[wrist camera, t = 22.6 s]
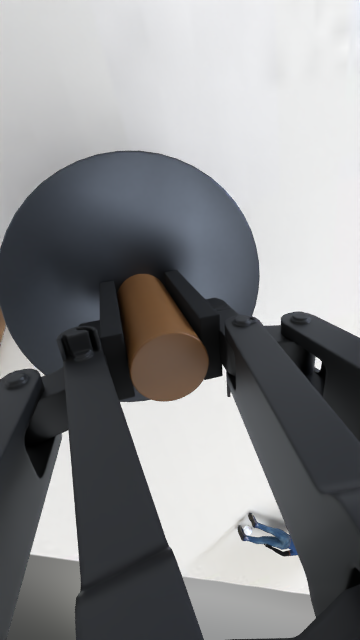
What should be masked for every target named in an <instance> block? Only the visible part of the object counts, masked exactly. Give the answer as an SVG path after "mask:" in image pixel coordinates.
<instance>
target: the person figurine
mask: <svg viewBox="0 0 360 640" xmlns="http://www.w3.org/2000/svg"><path fill="white" fill-rule="evenodd" d="M248 517H249V520H250V521H251V522H252V526H253V527H254V528H259V529H261V530H263V531H265V532H267V533H271V534H273V535H274V536H275V537H272V536H262V537H251V536H249V535H251V533H252V529H251V527H250V526H245V527H244V530H243V529H242V527H241V526H239V527H238V533H239V535H240V537H241V539H242V541H250V542H253V543H256V544H264V545H265V544H266V547H268V548H270V549H272V550H273V551H275V552H276V553H278V554H280V555H282V556H293V555H298V553H297V551H296V549H295V546H294V544H293V541H292V539H291V536H290V535H289V534H287V533H285V532H284V531H283V530H281V529H278V528H272V527H267V526H265V525H263V524H260V523H258V522H257V521H256V519H255V517H254V516H253V514H252V513H249V515H248ZM272 546H273V547H277V548H280V549H287V548H289V549H291V550H289V551H285V552H282V551H280V550H278V549H276V548H273V547H272Z"/></svg>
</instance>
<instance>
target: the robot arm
mask: <svg viewBox="0 0 360 640" xmlns="http://www.w3.org/2000/svg"><path fill="white" fill-rule="evenodd" d="M164 276H165V283H166V290H167V291H168V293H169V294H170V296H171V297H172V299H173V300H174V302H175V303H176V305H177V306H178V308H179V309H180V310H181V312H182V313H183V315H184V316H185V318H186V319H187V321H188V322H189V324H190V325H191V327H192V328H193V330H194V331H195V333H196V334H197V336H198V337H199V339H200V340H201V342H202V343H203V345H204V346H205V348H206V350H207V353H208V358H209V365H208V370H207V373H206V376H205V378H204V380H207V379H211V378H215V377H219V376H222V364H223V366H224V367H225V369H226V374H227V396H228V397H230V392H232V395H233V397H234V400H235V402H236V405H237V407H238V410H239V412H240V414H241V417H242V419H243V422H244V424H245V427H246V429H247V432H248V434H249V436H250V439H251V441H252V444H253V446H254V449H255V451H256V453H257V456H258V458H259V461H260V463H261V466H262V468H263V471H264V473H265V475H266V478H267V480H268V483H269V485H270V488H271V490H272V492H273V495H274V497H275V500H276V502H277V505H278V507H279V510H280V512H281V514H282V517H283V519H284V522H285V524H286V527H287V529H288V531H289V534H290V536H291V539H292V541H293V544H294V546H295V549H296V551H297V553H298V556H299V558H300V561H301V563H302V566H303V568H304V571H305V574H306V577H307V581H308V586H309V591H310V596H311V601H312V605H313V609H314V612H315V616H316V619H315V620H314V621H313V622H312V623H311V624H310V625H309V626H308V627H307V628H306V629H305V630H304V631H303V632H302V633H301V634H300V635H298V636H296V637H294V638H280V639H279V638H278V639H235V640H360V338H359V337H357V336H355V335H353V334H351V333H349V332H347V331H345V330H343V329H341V328H339V327H337V326H335V325H333V324H330V323H328V322H326V321H324V320H322V319H320V318H318V317H316V316H314V315H311V314H309V313H304V312H293V313H288V314H285V315H283V316H282V317H281V325H277V326H263V324H262V323H261V322H260V321H259V320H258V319H257V318H255V317H252V316H247V315H239V314H238V313H237V312H236V311H235V310H234V309H232V308H231V307H230V306H229V305H228V304H227V303H226V302H225V301H224V300H221V299H218V298H216V297H215V298H210V299H205V298H204V297H203V296H202V295H201V294H200V293H199V292H198V291H197V290H196V289H195V288H194V287H193V286H192V285H191V284H190V283H189V282H188V281H187V280H186V279H185V278H184V276H183V275H182V274H181V273H180V272H179V271H178V270H174V271H168V272H164ZM99 288H100V320H97V321H92V322H86V323H81V324H80V325H79V326H78V327H74V328H71V329H68V330H66V331H64V332H62V333H61V334H60V335H59V336H58V337H57V339H56V341H57V344H58V347H59V350H60V353H61V357H62V360H63V367H62V368H60V369H59V370H57V371H55V372H53V373H50V374H48V375H45V376H43V377H41V376H40V373H39V372H38V371H37V370H34V369H23V370H17V371H14V372H13V373H9V374H7V375H6V376H5V377H3V378H2V379H0V640H6V639H7V635H8V632H9V628H10V625H11V621H12V617H13V614H14V610H15V606H16V603H17V599H18V595H19V592H20V588H21V585H22V581H23V577H24V574H25V570H26V567H27V562H28V559H29V556H30V552H31V548H32V545H33V541H34V537H35V534H36V530H37V527H38V523H39V519H40V516H41V512H42V508H43V505H44V501H45V498H46V494H47V490H48V487H49V483H50V479H51V476H52V472H53V469H54V465H55V461H56V458H57V454H58V450H59V447H60V443H61V440H62V433H63V432H65V431H67V430H69V441H70V453H71V465H72V477H73V489H74V502H75V514H76V526H77V538H78V550H79V562H80V574H81V591H80V593H79V594H78V596H77V598H76V606H75V624H76V640H204V639H203V636H202V633H201V630H200V627H199V624H198V621H197V618H196V616H195V613H194V610H193V607H192V604H191V601H190V599H189V596H188V593H187V590H186V587H185V584H184V581H183V578H182V575H181V572H180V570H179V567H178V564H177V561H176V559H175V556H174V554H173V551H172V549H171V548H170V547H169V545H168V543H167V540H166V538H165V535H164V532H163V529H162V526H161V523H160V520H159V517H158V514H157V511H156V508H155V505H154V502H153V499H152V496H151V493H150V490H149V487H148V484H147V482H146V479H145V476H144V473H143V470H142V467H141V464H140V461H139V458H138V455H137V452H136V449H135V446H134V443H133V440H132V437H131V434H130V431H129V428H128V425H127V422H126V419H125V416H124V413H123V410H122V408H121V405H120V402H119V400H123V399H127V398H132V397H135V392H134V386H133V384H132V382H131V378H130V374H129V368H128V358H127V352H126V346H125V340H124V334H123V329H122V323H121V317H120V311H119V305H118V299H117V294H116V289H115V284H114V281H108V282H102V283H99ZM315 356H316V357H317V358H319V359H320V360H321V361H322V365H321V370H318V369H317V368H315V367H314V364H315ZM232 640H234V639H232Z"/></svg>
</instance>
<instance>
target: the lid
mask: <svg viewBox="0 0 360 640" xmlns="http://www.w3.org/2000/svg"><path fill="white" fill-rule="evenodd" d="M174 270H178V271H179V272H180V273H181V274H182V275H183V276H184V278H185V279H186V280H187V281H188V282H189V283H190V284H191V285H192V286H193V287H194V288H195V289H196V290H197V291H198V292H199V293H200V294H201V295H202V296H203V297H204V298H205V299H210V298H215V297H216V298H218V299H221V300H224V301H225V302H226V303H227V304H228V305H229V306H230V307H231V308H232V309H234V310H235V311H236V312H237V313H238V314H239V315H247V316H252V314H253V311H254V308H255V305H256V300H257V295H258V288H259V260H258V254H257V249H256V244H255V241H254V238H253V235H252V232H251V229H250V227H249V225H248V223H247V221H246V219H245V216H244V215H243V213H242V212H241V210H240V209H239V207H238V205H237V204H236V202H235V201H234V200H233V199H232V198H231V196H230V195H229V194H228V193H227V192H226V191H225V190H224V188H222V187H221V186H220V185H219V184H218V183H217V182H215V181H214V180H213V179H212V178H211V177H210V176H208V175H206V174H205V173H203V172H202V171H200V170H199V169H197V168H196V167H194V166H192V165H189V164H187V163H185V162H183V161H181V160H179V159H176V158H172V157H169V156H165V155H162V154H159V153H151V152H144V151H115V152H109V153H103V154H97V155H94V156H91V157H88V158H85V159H82V160H79V161H76V162H74V163H72V164H70V165H68V166H67V167H65V168H63V169H61V170H59V171H57V172H56V173H55V174H53V175H52V176H50V177H49V178H48V179H46V180H45V181H43V182H42V183H41V184H40V185H39V186H38V187H37V188H36V189H35V190H34V191H33V192H32V193H31V194H30V195H29V196H28V197H27V198H26V200H25V201H24V202H23V204H22V205H21V206H20V208H19V209H18V210H17V212H16V213H15V215H14V217H13V219H12V221H11V223H10V225H9V227H8V229H7V230H6V233H5V236H4V239H3V242H2V245H1V248H0V307H1V311H2V314H3V317H4V320H5V323H6V325H7V327H8V329H9V331H10V334H11V336H12V338H13V339H14V341H15V342H16V344H17V345H18V347H19V348H20V350H21V351H22V353H23V354H24V355H25V356H26V357H27V358H28V359H29V361H30V362H31V363H32V364H33V365H34V366H35V367H37V368H38V369H39V370H40V371H41V372H42V373H43V374H44V375H48V374H50V373H53V372H55V371H57V370H59V369H60V368H62V367H63V360H62V357H61V353H60V350H59V347H58V344H57V341H56V339H57V337H58V336H59V335H60V334H61V333H62V332H64V331H66V330H68V329H71V328H74V327H78V326H79V325H80V324H81V323H86V322H92V321H97V320H100V288H99V283H102V282H108V281H114V284H115V289H116V294H117V299H118V305H119V311H120V317H121V323H122V329H123V334H124V340H125V346H126V352H127V358H128V368H129V374H130V378H131V382H132V384H133V386H134V392H135V397H132V398H127V399H123V400H119V402H136V401H146V400H155V401H173V400H177V399H180V398H182V397H185V396H186V395H188V394H190V393H191V392H193V391H194V390H195V389H196V388H197V387H198V386H199V385H200V384H201V382H202V381H203V379H204V378H205V376H206V373H207V370H208V365H209V358H208V353H207V350H206V348H205V346H204V345H203V343H202V342H201V340H200V339H199V337H198V336H197V334H196V333H195V331H194V330H193V328H192V327H191V325H190V324H189V322H188V321H187V319H186V318H185V316H184V315H183V313H182V312H181V310H180V309H179V308H178V306H177V305H176V303H175V302H174V300H173V299H172V297H171V296H170V294H169V293H168V291H167V290H166V283H165V276H164V272H168V271H174Z"/></svg>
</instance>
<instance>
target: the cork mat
mask: <svg viewBox="0 0 360 640" xmlns="http://www.w3.org/2000/svg"><path fill="white" fill-rule="evenodd" d="M5 327H6V323H5V320H4V317H3V314H2V311H1V307H0V346H1V342H2V338H3V335H4V331H5Z"/></svg>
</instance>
